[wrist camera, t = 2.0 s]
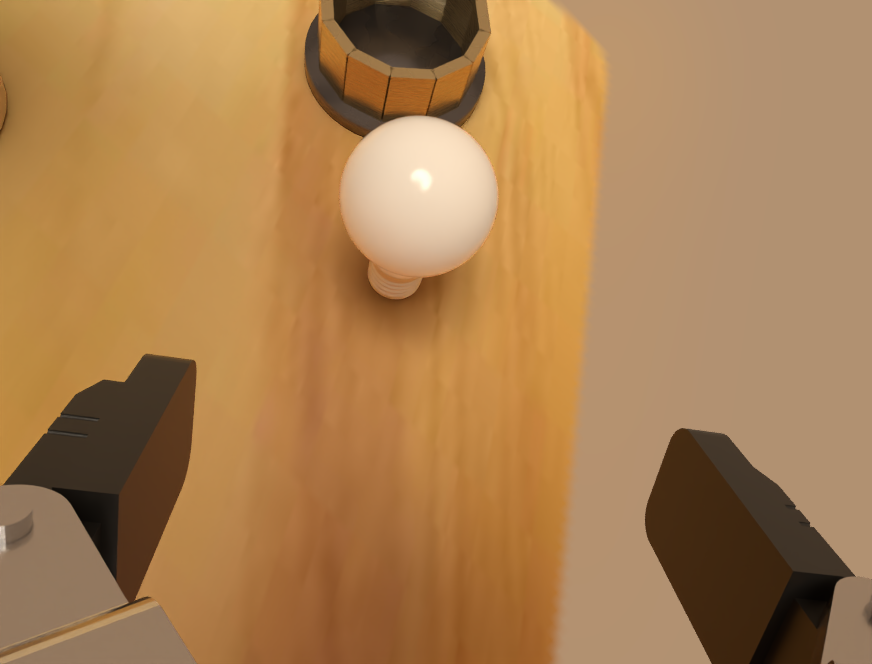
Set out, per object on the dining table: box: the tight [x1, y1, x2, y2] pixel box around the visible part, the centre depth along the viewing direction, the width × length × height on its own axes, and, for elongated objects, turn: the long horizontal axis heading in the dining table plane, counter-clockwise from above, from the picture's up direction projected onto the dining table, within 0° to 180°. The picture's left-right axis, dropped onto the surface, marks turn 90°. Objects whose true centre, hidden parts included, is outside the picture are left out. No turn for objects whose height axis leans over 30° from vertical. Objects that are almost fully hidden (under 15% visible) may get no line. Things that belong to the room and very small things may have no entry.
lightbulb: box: [339, 115, 498, 299], centre depth 31 cm, size 6×6×11 cm
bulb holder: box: [305, 0, 491, 137], centre depth 39 cm, size 10×10×4 cm
